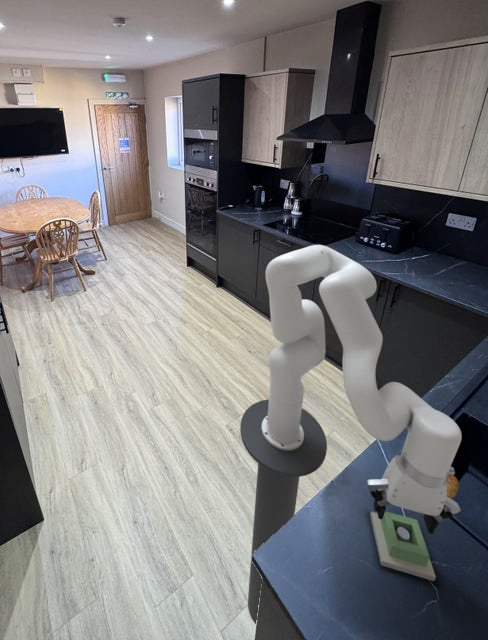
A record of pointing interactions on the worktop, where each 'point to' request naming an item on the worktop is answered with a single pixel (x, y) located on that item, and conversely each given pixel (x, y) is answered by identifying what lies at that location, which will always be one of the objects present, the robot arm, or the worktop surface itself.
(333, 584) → the worktop surface
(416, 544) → the green hollow square block
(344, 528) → the worktop surface
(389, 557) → the base pad
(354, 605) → the worktop surface
